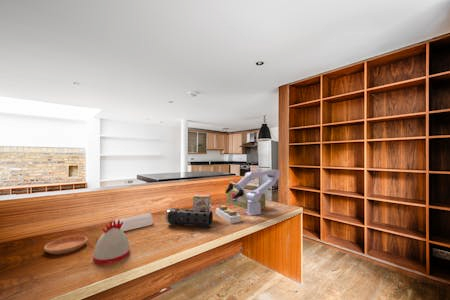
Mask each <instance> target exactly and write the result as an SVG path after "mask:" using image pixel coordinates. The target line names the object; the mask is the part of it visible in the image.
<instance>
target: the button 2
mask: <svg viewBox="0 0 450 300" xmlns="http://www.w3.org/2000/svg"><path fill="white" fill-rule="evenodd" d="M237 214H238V213H237V211H235V210H233V209H232V210H231V209H230V211H228V215H230V216H234V215H237Z"/></svg>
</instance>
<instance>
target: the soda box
mask: <svg viewBox="0 0 450 300" xmlns="http://www.w3.org/2000/svg"><path fill="white" fill-rule="evenodd" d="M227 189H228V187H227V188H226V189H225V191H226V190H227ZM243 189H244V190H245V191H246V193H247V192H250V191H253V190H251V189H248V188H247V189H246V188H243ZM238 192H239V191H238V190H237V189H236V188H234V187H233V189H232V190H231V191H229V192H228V193H227V194H226V193H225V194H226V195H225V197H226V200H225V201H226V202H227V203H229V204H230V203H231V204H233V205H236V206H239V207H242V208H244V209H247V210H248V201H247V199H246V194H245V195H244V194H243V196H241V197H238V198H236V199H234V196H235V195H236V194H237V193H238ZM259 202H260V204H261V210H264V209H266V193H265V192H264V193H263V194H261V198H260V199H259Z"/></svg>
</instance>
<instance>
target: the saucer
mask: <svg viewBox="0 0 450 300" xmlns="http://www.w3.org/2000/svg"><path fill="white" fill-rule="evenodd" d="M88 240H89V239H88V237H87V236H85V235H71V236H66V237H62V238H57V239H55V240H52V241H50V242H48V243H46V244H45V245H44V251H45V252H46V253H48V254H50V255H54V256H55V255H64V254H68V253H73V252H74V251H77V250H80V248H83V247H84V245H85V244H86V243H88Z"/></svg>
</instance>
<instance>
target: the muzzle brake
mask: <svg viewBox="0 0 450 300" xmlns="http://www.w3.org/2000/svg"><path fill="white" fill-rule="evenodd" d="M164 218H165V222H166V223H167V224H170V225H176V226H179V227H182V226H191V227H195V228H205V229H207V228H209V229H210V228H212V227H211V226H212V224H213V219H214V214H213V211H212V210H210V211H201V210H193V209H182V208H180V209H179V208H169V209H167V211H166V212H165V217H164Z"/></svg>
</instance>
